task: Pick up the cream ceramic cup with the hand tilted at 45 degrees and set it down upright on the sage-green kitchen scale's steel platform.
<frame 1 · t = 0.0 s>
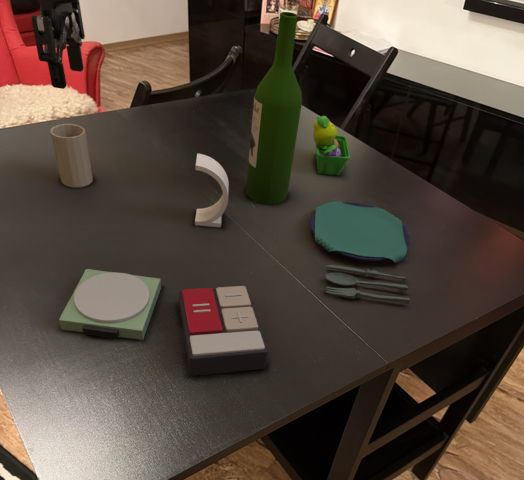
hand: (68, 78, 82), 20 cm above the table, tool pointing down, fingers open, 8 cm apart
fruit basket: (324, 166, 115), on the table
scale: (114, 307, 74), on the table
wine bottle: (266, 194, 103), on the table
cutlery set: (358, 252, 92), on the table
calculator: (220, 336, 73), on the table
headphone stand: (211, 220, 94), on the table
cream cup: (77, 179, 98), on the table
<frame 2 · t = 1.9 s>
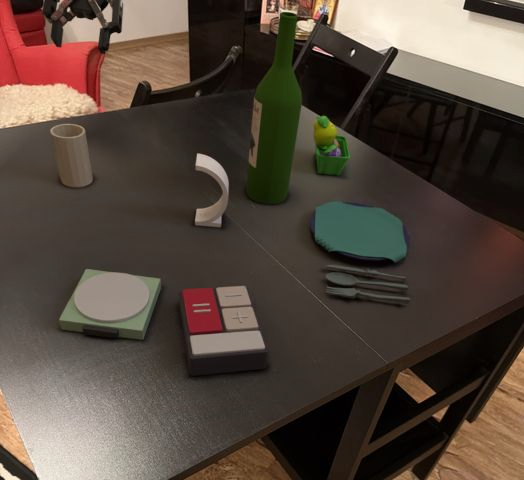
hand: (79, 48, 91), 21 cm above the table, tool tilted 45°, fingers open, 8 cm apart
nothing on the table moved.
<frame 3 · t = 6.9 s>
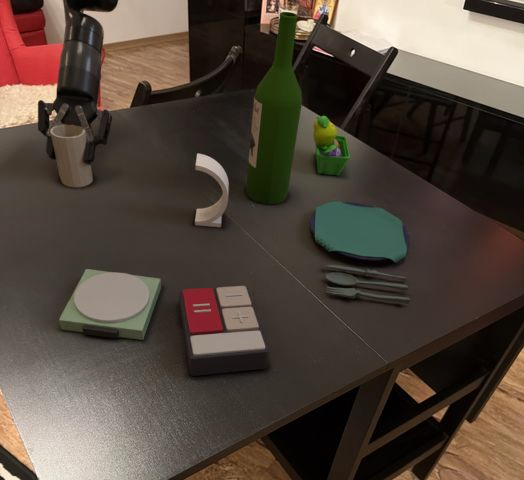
hand: (69, 160, 94), 5 cm above the table, tool tilted 45°, fingers closed on cream cup, 6 cm apart
cream cup: (77, 179, 98), on the table, touching gripper
everything else where it was.
when the fingers open (7 cm above the table, at t = 17.8 s): cream cup stays where it is, resting on scale.
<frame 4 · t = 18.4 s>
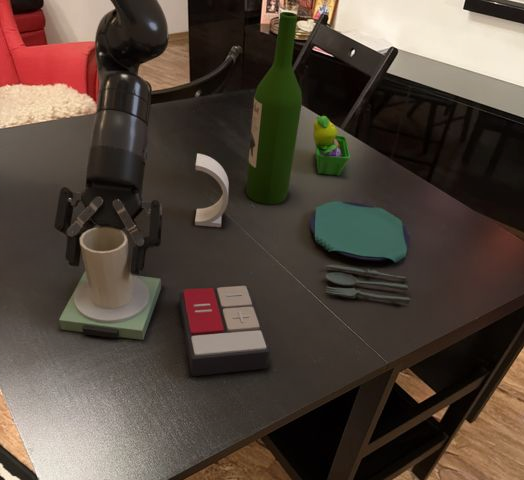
hand: (104, 269, 67), 8 cm above the table, tool tilted 45°, fingers open, 8 cm apart
cream cup: (112, 294, 72), point 3 cm above the table, touching scale
everything else where it was.
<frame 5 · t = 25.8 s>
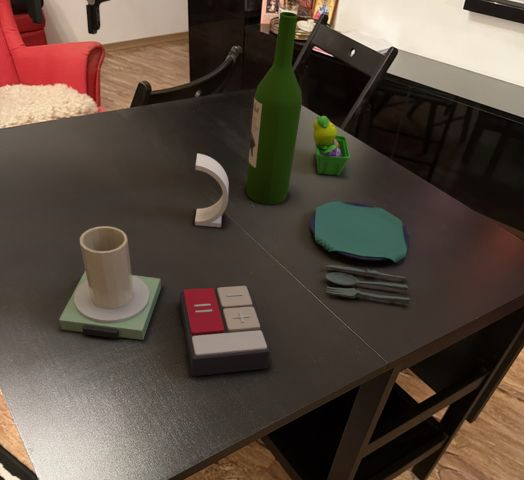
hand: (65, 28, 74), 28 cm above the table, tool pointing down, fingers open, 8 cm apart
nothing on the table moved.
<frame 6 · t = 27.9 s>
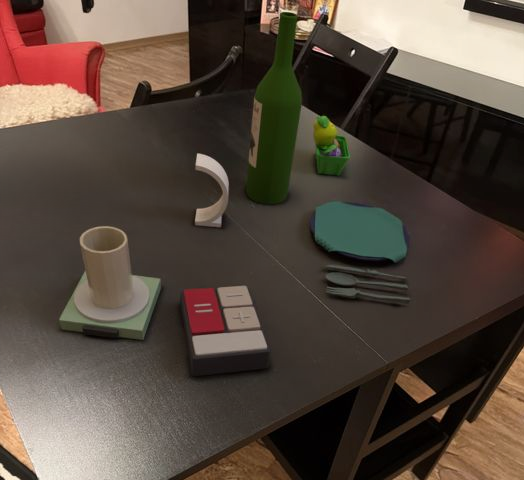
hand: (60, 7, 76), 30 cm above the table, tool pointing down, fingers open, 8 cm apart
nothing on the table moved.
at the end: cream cup inside the target area on the scale (0.1 cm from its centre), point 2.6 cm above the scale's base; cream cup tilted 0°; the gripper is holding nothing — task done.
